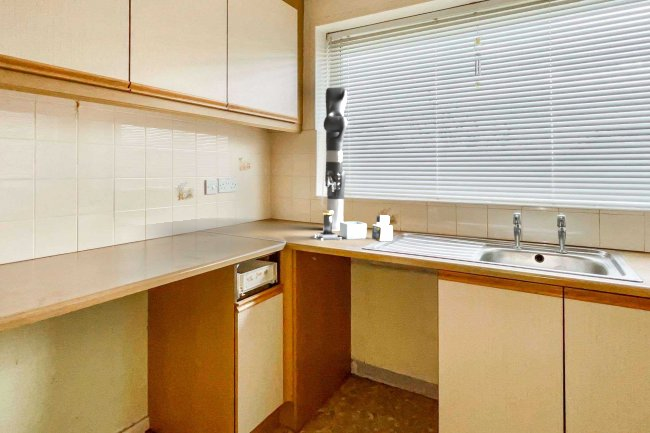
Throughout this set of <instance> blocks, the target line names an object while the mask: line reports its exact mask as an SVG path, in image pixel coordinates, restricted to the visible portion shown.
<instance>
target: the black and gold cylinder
mask: <svg viewBox="0 0 650 433" xmlns="http://www.w3.org/2000/svg"><path fill="white" fill-rule="evenodd" d="M322 215H323V224H322V225H323V227H322V230H323V231H322V232H323V234H324V235H331V234H332V232H333V231H332V215H333V211H330V210H327V209H325V210H322Z"/></svg>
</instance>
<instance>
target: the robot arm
mask: <svg viewBox="0 0 650 433" xmlns="http://www.w3.org/2000/svg"><path fill="white" fill-rule="evenodd" d="M347 102H348V91H347V89H346V88H345V87H327V88H326V90H325V117H324V121H323V129H324V130H325V151H326V152H325V154H326V155H325V173H324V174H325V176H324V178H325V179H324V181H325V187H326V190H327V191H326V195H327V196H326V197H327V198H326V210H330V211H333V215H332V232H333V231H334V232H335V231H336V232H338V231H340V222H344V210H345V186H346V171H345V170H344V169H343V160H344V159H343V147H344V137H345V135H346V134H345V133H346V130H347V128H348V120H347V118H346V117H345V114H344V113H345V109H346V106H347Z"/></svg>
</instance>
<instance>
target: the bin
mask: <svg viewBox="0 0 650 433" xmlns="http://www.w3.org/2000/svg"><path fill="white" fill-rule="evenodd" d="M367 230H368V225H367V223H365V222H361V221H343V222H340V231H339V234H338V235H339V236H338V237H340V238H342V239H346V240H358V239H359V240H361V239H367Z"/></svg>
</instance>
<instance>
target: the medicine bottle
mask: <svg viewBox="0 0 650 433" xmlns="http://www.w3.org/2000/svg"><path fill="white" fill-rule="evenodd" d="M389 224H390V216H389V215H386V214H379V215H376V224H372V228H371V230H372V231H371V239H372V240H375V241H377V242H392V241H393V232H394V230H393V229H394V228H393V225H389Z"/></svg>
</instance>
